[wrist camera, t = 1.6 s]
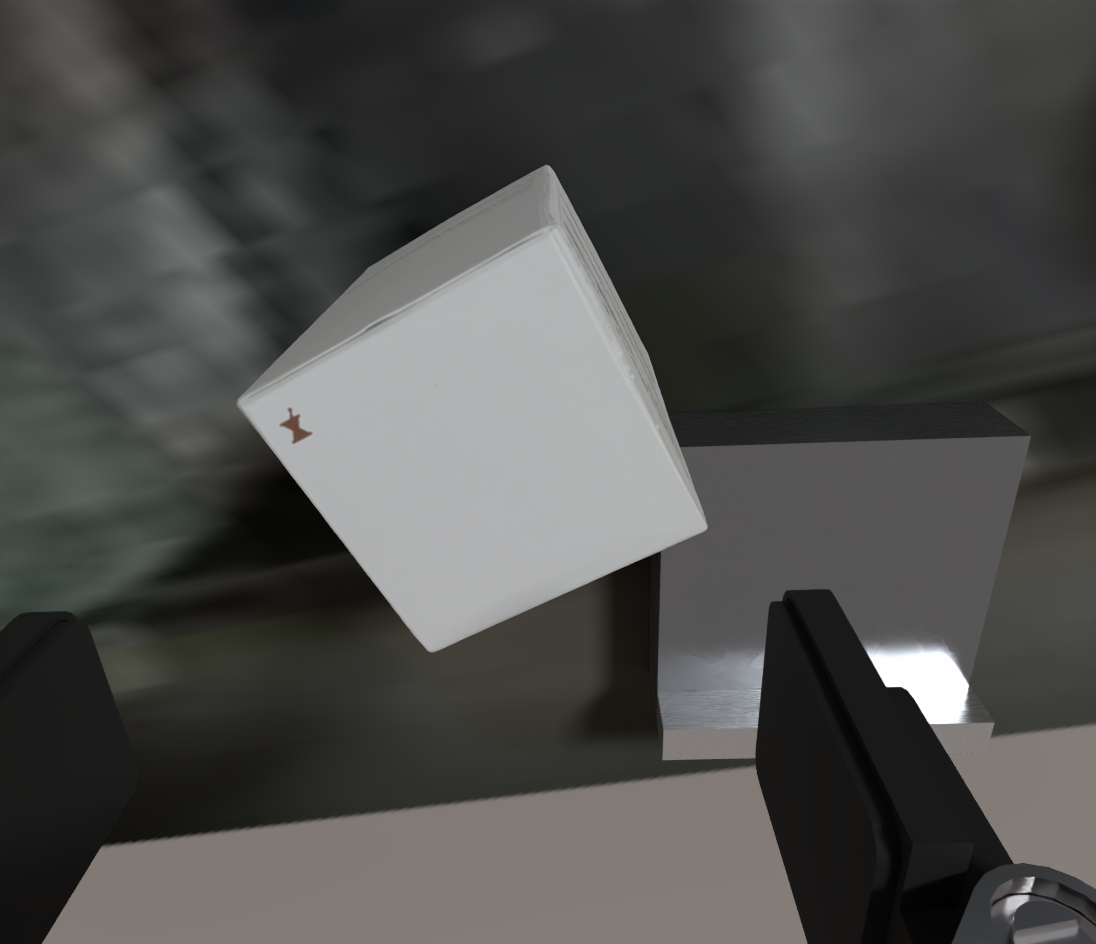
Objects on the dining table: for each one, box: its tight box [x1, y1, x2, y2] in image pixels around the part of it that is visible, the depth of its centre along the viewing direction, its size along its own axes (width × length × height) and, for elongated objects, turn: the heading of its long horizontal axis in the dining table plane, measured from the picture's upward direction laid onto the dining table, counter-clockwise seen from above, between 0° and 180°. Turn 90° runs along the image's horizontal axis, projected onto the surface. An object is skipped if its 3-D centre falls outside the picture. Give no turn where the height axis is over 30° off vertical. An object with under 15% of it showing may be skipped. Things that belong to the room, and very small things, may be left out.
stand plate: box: [649, 403, 1031, 760], centre depth 29 cm, size 12×12×5 cm
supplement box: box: [237, 165, 708, 652], centre depth 22 cm, size 7×7×13 cm
